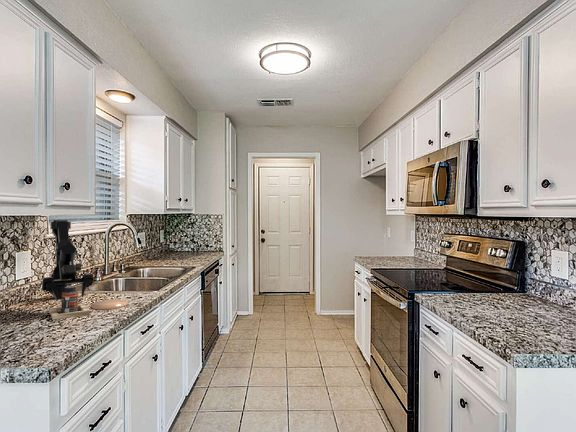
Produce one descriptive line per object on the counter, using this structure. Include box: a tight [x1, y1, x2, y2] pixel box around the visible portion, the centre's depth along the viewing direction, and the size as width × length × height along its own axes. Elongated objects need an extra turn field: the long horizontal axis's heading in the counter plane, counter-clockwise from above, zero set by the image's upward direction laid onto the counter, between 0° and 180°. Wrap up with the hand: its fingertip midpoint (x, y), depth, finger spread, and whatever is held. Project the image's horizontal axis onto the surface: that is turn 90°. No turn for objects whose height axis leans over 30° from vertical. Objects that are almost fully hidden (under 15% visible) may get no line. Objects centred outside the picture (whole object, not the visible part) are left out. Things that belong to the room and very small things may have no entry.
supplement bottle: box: [60, 285, 79, 314], centre depth 150 cm, size 6×6×11 cm
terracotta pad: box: [91, 298, 129, 311], centre depth 163 cm, size 15×15×1 cm
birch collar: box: [48, 303, 91, 321], centre depth 150 cm, size 13×13×2 cm
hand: (70, 298), depth 149 cm, fingers open, 9 cm apart
